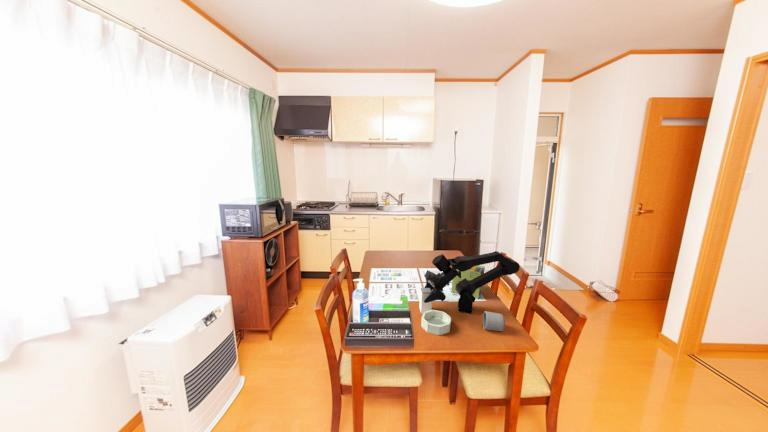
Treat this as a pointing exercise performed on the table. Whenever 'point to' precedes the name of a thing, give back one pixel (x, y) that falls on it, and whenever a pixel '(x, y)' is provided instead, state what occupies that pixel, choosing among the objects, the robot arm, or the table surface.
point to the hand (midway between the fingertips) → (422, 298)
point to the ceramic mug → (493, 321)
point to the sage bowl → (436, 322)
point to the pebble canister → (423, 295)
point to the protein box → (470, 275)
